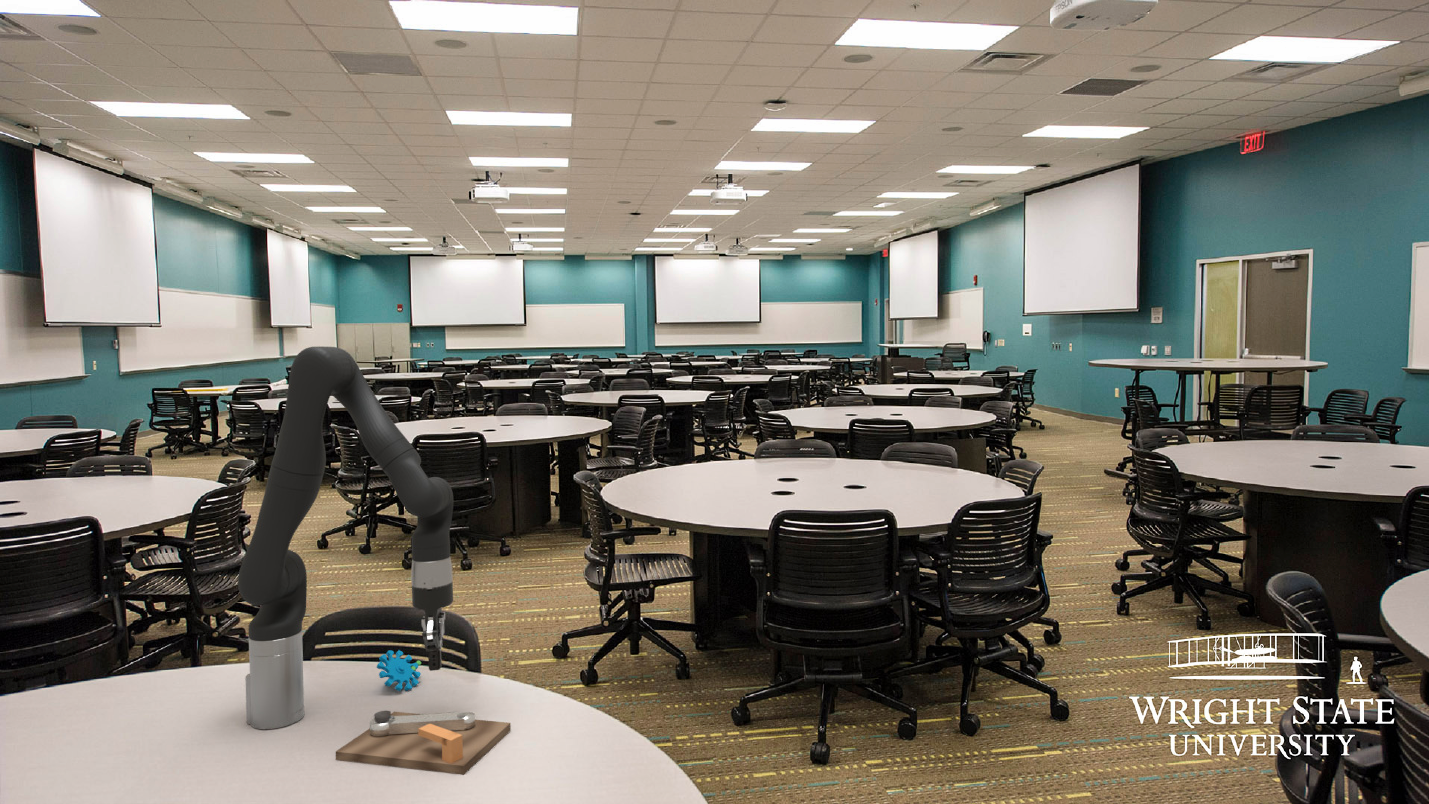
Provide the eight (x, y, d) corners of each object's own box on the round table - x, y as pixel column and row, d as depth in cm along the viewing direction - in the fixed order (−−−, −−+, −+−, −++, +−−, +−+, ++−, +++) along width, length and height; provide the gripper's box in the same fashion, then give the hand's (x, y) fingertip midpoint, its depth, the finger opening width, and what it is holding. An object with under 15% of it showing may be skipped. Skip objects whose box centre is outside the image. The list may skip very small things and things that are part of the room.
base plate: (335, 759, 141) (335, 732, 141) (394, 719, 157) (393, 694, 157) (463, 774, 135) (463, 745, 135) (510, 730, 152) (510, 704, 152)
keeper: (418, 750, 141) (418, 728, 141) (430, 745, 143) (429, 723, 143) (451, 763, 136) (451, 740, 136) (462, 757, 138) (462, 735, 138)
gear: (393, 692, 167) (372, 652, 171) (377, 708, 168) (357, 669, 172) (433, 681, 176) (413, 643, 180) (418, 697, 178) (398, 659, 182)
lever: (367, 737, 146) (366, 726, 146) (374, 726, 150) (373, 716, 150) (472, 730, 148) (472, 720, 148) (476, 720, 153) (476, 710, 152)
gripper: (417, 574, 160) (420, 659, 161) (406, 591, 147) (409, 683, 148) (456, 571, 162) (458, 655, 163) (448, 588, 149) (451, 679, 150)
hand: (435, 669), depth 155 cm, fingers closed
